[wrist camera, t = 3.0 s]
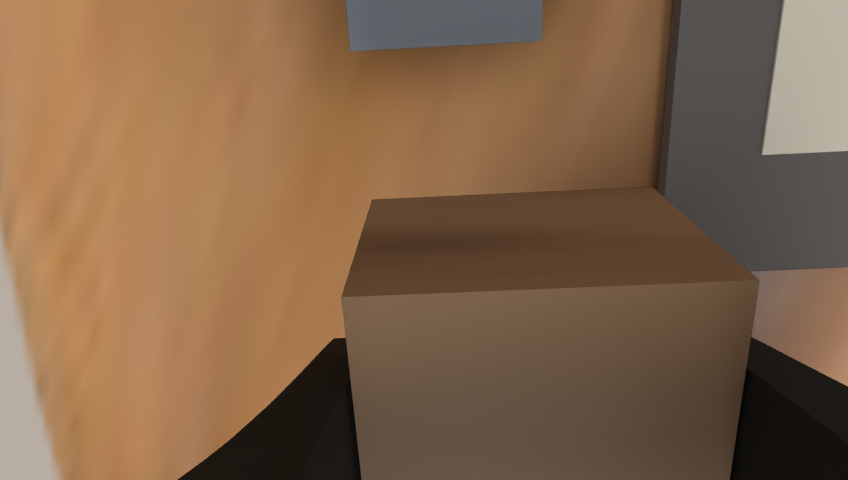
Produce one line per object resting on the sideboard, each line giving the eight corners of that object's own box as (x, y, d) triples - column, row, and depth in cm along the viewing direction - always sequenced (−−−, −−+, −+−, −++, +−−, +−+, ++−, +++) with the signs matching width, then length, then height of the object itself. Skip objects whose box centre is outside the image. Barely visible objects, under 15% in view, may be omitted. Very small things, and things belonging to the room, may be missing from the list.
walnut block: (633, 420, 13) (713, 589, 9) (391, 427, 13) (374, 598, 9) (651, 186, 11) (759, 280, 7) (372, 199, 11) (341, 297, 8)
